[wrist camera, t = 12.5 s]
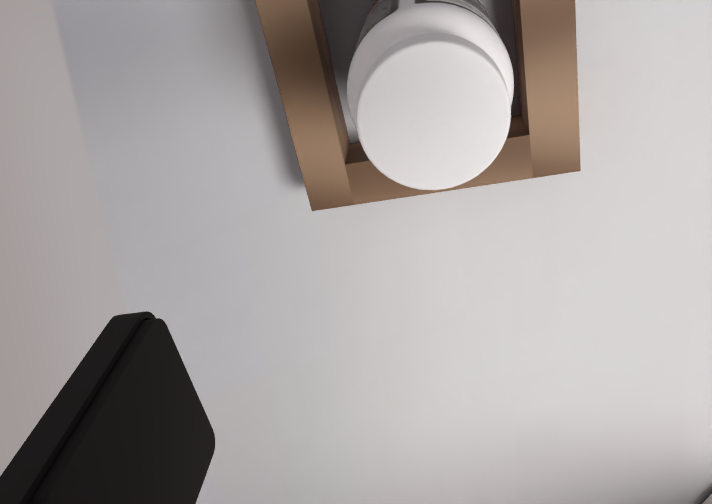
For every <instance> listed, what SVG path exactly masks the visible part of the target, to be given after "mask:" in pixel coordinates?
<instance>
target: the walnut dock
mask: <svg viewBox="0 0 712 504" xmlns="http://www.w3.org/2000/svg"><path fill="white" fill-rule="evenodd" d="M255 2H256V6H257V9H258V13H259V17H260V21H261V24H262V28H263V32H264V35H265V39H266V43H267V46H268V50H269V54H270V58H271V61H272V65H273V69H274V72H275V76H276V80H277V84H278V87H279V91H280V95H281V98H282V102H283V106H284V109H285V113H286V117H287V121H288V124H289V128H290V132H291V135H292V139H293V143H294V146H295V150H296V154H297V158H298V161H299V165H300V169H301V172H302V176H303V180H304V183H305V187H306V191H307V195H308V198H309V202H310V206H311V209H312V211H315V210H322V209H329V208H335V207H342V206H349V205H355V204H362V203H369V202H375V201H382V200H389V199H396V198H402V197H409V196H416V195H422V194H429V193H436V192H442V191H449V190H456V189H462V188H469V187H476V186H482V185H489V184H496V183H502V182H509V181H516V180H523V179H529V178H536V177H543V176H549V175H556V174H563V173H569V172H576V171H580V141H579V110H578V79H577V48H576V17H575V0H512V3H513V16H514V28H515V41H516V54H517V66H518V79H519V92H520V104H521V116H515V117H511V121H510V128H509V132H508V135H507V138H506V141H505V143H504V145H503V147H502V149H501V151H500V152H499V154H498V155H497V157H496V158H495V159H494V161H493V162H492V163H491V164H490V165H489V166H488V167H487V168H486V169H485V170H484V171H483V172H482V173H480V174H479V175H477V176H476V177H475V178H473V179H471V180H469V181H467V182H465V183H463V184H460V185H458V186H455V187H452V188H447V189H441V190H420V189H415V188H411V187H407V186H404V185H402V184H400V183H397V182H395V181H393V180H392V179H390V178H388V177H387V176H385V175H384V174H383V173H381V172H380V171H379V170H378V169H377V168H376V167H375V166H374V165H373V163H372V162H371V161H370V160H369V158H368V157H367V155H366V153H365V151H364V150H363V147H362V145H361V143H360V142H359V143H353V144H350V142H349V138H348V133H347V129H346V124H345V120H344V115H343V111H342V106H341V102H340V97H339V93H338V88H337V84H336V80H335V75H334V71H333V66H332V62H331V57H330V53H329V48H328V44H327V39H326V35H325V30H324V26H323V21H322V17H321V12H320V8H319V3H318V0H255Z"/></svg>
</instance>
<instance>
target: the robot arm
mask: <svg viewBox="0 0 712 504" xmlns="http://www.w3.org/2000/svg"><path fill="white" fill-rule="evenodd" d="M214 450H215V436H214V432H213V429H212V427H211V424H210V422H209V420H208V418H207V415H206V413H205V411H204V409H203V406H202V404H201V402H200V400H199V397H198V395H197V393H196V391H195V388H194V386H193V384H192V381H191V379H190V377H189V375H188V372H187V370H186V368H185V366H184V363H183V361H182V359H181V357H180V354H179V352H178V350H177V348H176V345H175V343H174V341H173V339H172V336H171V334H170V332H169V330H168V327H167V325H166V324H165V322H164V321H163V320H162V319H159V318H158V319H156V318H155V316H154V315H153V314H152V313H150V312H147V311H146V312H138V313H131V314H123V315H117V316H114V317H113V318H112V319H111V320H110V321H109V323H108V324H107V325H106V327H105V328H104V330H103V331H102V333H101V334H100V335H99V337H98V338H97V340H96V341H95V343H94V344H93V345H92V347H91V348H90V350H89V351H88V353H87V354H86V356H85V357H84V358H83V360H82V361H81V362H80V364H79V365H78V367H77V368H76V370H75V371H74V373H73V374H72V375H71V377H70V378H69V380H68V381H67V383H66V384H65V385H64V387H63V388H62V390H61V391H60V392H59V394H58V396H57V397H56V398H55V399H54V401H53V402H52V404H51V405H50V407H49V408H48V409H47V411H46V412H45V414H44V415H43V417H42V418H41V419H40V421H39V422H38V424H37V425H36V427H35V428H34V429H33V431H32V432H31V434H30V435H29V436H28V438H27V439H26V441H25V442H24V444H23V445H22V447H21V448H20V449H19V451H18V452H17V454H16V455H15V456H14V458H13V459H12V461H11V462H10V464H9V465H8V466H7V468H6V469H5V471H4V472H3V474H2V475H1V476H0V504H196V501H197V498H198V495H199V492H200V490H201V487H202V484H203V481H204V479H205V476H206V473H207V470H208V467H209V465H210V462H211V459H212V456H213V453H214ZM702 504H712V493H711V495H710V496H709V497H708V498H707V499H706V500H705V501H704V502H703V503H702Z"/></svg>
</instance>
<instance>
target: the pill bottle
mask: <svg viewBox="0 0 712 504" xmlns="http://www.w3.org/2000/svg"><path fill="white" fill-rule="evenodd" d="M513 92H514V77H513V69H512V65H511V61H510V58H509V54H508V52H507V50H506V47H505V45H504V43H503V41H502V39H501V38H500V36H499V34H498V33H497V31H496V29H495V27H494V25H493V24H492V22H491V20H490V18H489V16H488V14H487V12H486V11H485V9H484V7H483V6H482V5H481V3H480V2H479V0H377V2H376V3H375V4H374V5H373V7H372V8H371V10H370V11H369V13H368V15H367V17H366V19H365V21H364V23H363V26H362V29H361V32H360V35H359V39H358V42H357V45H356V48H355V51H354V55H353V58H352V61H351V64H350V68H349V73H348V81H347V99H348V106H349V110H350V114H351V117H352V119H353V122H354V124H355V126H356V128H357V132H358V136H359V140H360V143H361V145H362V147H363V150H364V151H365V153H366V155H367V157H368V158H369V160H370V161H371V162H372V163H373V165H374V166H375V167H376V168H377V169H378V170H379V171H380V172H381V173H383V174H384V175H385V176H387V177H388V178H390V179H392V180H393V181H395V182H397V183H400V184H402V185H404V186H407V187H411V188H415V189H420V190H441V189H447V188H452V187H455V186H458V185H460V184H463V183H465V182H467V181H469V180H471V179H473V178H475V177H476V176H477V175H479V174H480V173H482V172H483V171H484V170H485V169H486V168H487V167H488V166H489V165H490V164H491V163H492V162H493V161H494V159H495V158H496V157H497V155H498V154H499V152H500V151H501V149H502V147H503V145H504V143H505V141H506V138H507V135H508V132H509V128H510V121H511V104H512V100H513Z"/></svg>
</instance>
